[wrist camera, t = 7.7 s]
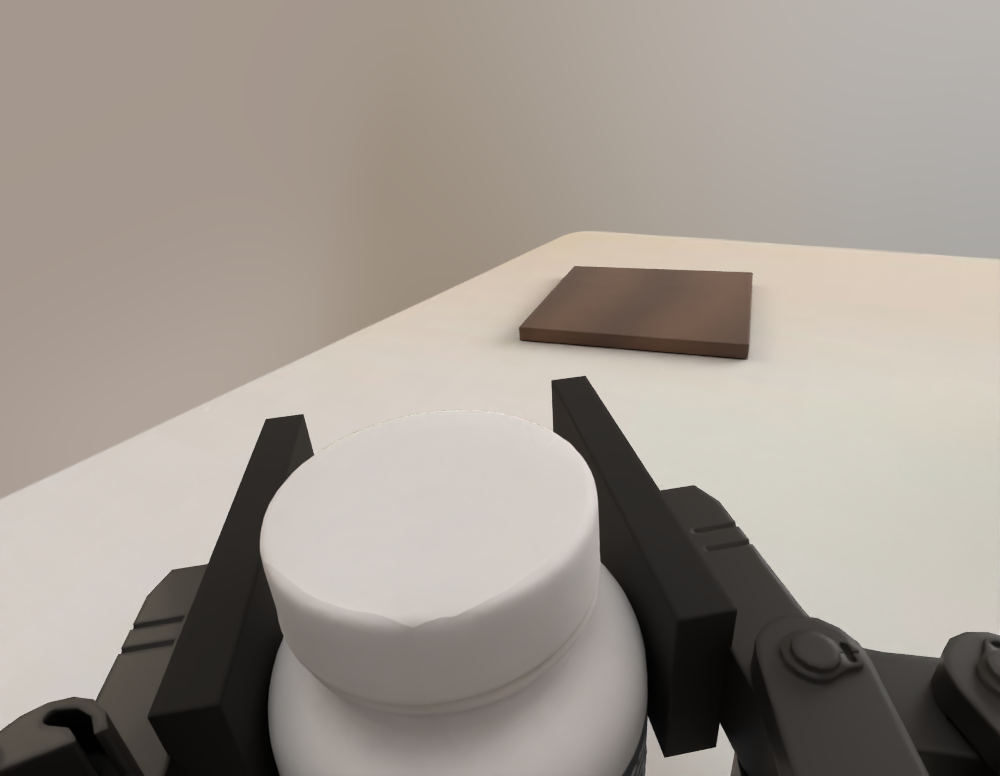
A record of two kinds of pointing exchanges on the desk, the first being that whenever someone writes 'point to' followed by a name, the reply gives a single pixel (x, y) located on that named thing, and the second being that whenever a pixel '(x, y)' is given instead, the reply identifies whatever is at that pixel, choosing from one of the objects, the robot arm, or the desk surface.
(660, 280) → the coaster
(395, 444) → the pill bottle
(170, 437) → the desk surface
